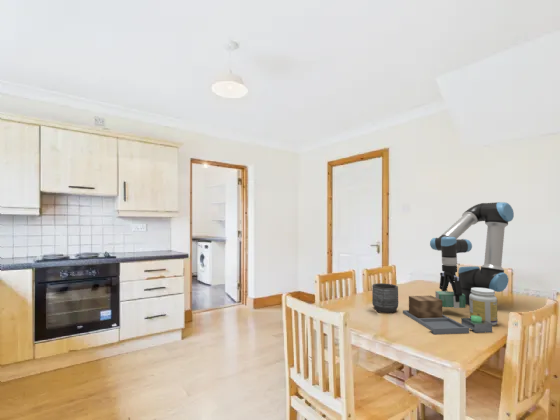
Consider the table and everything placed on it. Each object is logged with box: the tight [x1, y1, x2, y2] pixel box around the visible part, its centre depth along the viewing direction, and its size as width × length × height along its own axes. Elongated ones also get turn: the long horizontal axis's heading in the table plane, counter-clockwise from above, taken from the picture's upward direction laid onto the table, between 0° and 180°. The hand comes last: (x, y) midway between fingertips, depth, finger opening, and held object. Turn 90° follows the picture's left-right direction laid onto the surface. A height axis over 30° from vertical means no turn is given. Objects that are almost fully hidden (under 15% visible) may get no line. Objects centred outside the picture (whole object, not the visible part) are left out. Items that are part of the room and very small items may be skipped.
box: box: [434, 290, 467, 309], centre depth 169 cm, size 7×14×8 cm, turn 78°
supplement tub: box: [468, 288, 499, 327], centre depth 158 cm, size 12×12×17 cm
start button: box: [471, 315, 482, 323], centre depth 148 cm, size 4×4×4 cm
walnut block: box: [408, 295, 443, 318], centre depth 163 cm, size 13×10×10 cm
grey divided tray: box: [402, 309, 470, 335], centre depth 156 cm, size 18×29×2 cm, turn 6°
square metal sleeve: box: [460, 317, 493, 334], centre depth 148 cm, size 9×9×4 cm
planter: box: [371, 282, 399, 314], centre depth 176 cm, size 14×14×15 cm
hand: (450, 305), depth 169 cm, fingers closed on box, 9 cm apart
